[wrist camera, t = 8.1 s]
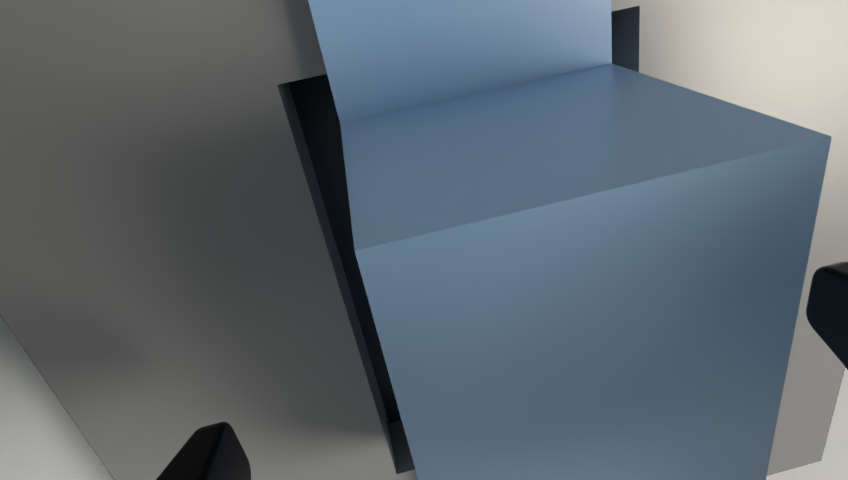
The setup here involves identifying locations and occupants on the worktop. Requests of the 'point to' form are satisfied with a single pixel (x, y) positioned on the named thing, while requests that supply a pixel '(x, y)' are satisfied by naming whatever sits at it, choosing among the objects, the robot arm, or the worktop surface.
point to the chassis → (291, 219)
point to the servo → (566, 243)
